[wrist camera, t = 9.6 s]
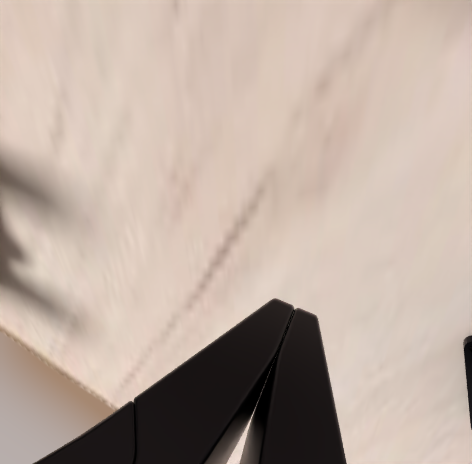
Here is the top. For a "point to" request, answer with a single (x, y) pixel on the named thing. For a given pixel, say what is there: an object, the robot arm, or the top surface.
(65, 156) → the top surface
